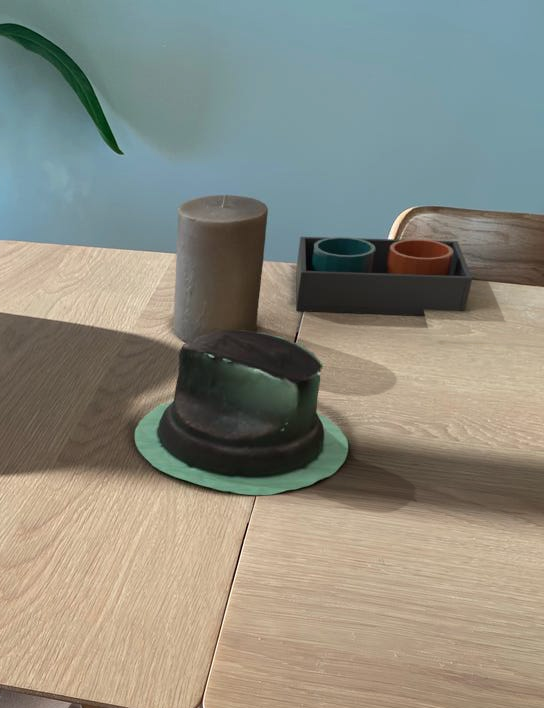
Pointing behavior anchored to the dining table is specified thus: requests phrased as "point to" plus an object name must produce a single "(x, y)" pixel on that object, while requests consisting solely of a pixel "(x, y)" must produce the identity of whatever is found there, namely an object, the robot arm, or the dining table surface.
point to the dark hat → (244, 417)
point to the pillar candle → (218, 264)
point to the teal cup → (343, 255)
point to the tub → (380, 285)
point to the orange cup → (419, 258)
